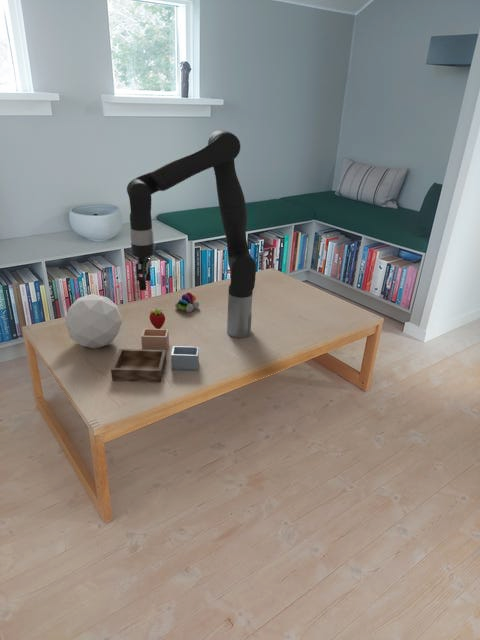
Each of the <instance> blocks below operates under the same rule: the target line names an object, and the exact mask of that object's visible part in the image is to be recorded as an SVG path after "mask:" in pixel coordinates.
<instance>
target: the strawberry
mask: <svg viewBox="0 0 480 640" xmlns="http://www.w3.org/2000/svg"><path fill="white" fill-rule="evenodd" d="M162 311H163V309H162V310H161V309H160V310H158V308H155V310H154V311H152V310H151V311H150V312H149V313H148V314H149V322H150V323H151V324H152V326H153V327H154V329H162V327H163V326H164V324H165V322H166V317H165V316H166V315H165V314H164V312H162Z"/></svg>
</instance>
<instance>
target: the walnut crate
mask: <svg viewBox="0 0 480 640" xmlns="http://www.w3.org/2000/svg"><path fill="white" fill-rule="evenodd" d="M166 364H167V351H166V350H144V349H142V348H140V349H139V348H138V349H137V348H119V349H118V352H117V355H116V357H115V360H114V362H113V364H112V367H111V369H110V372H111V381H112V382H135V383H137V382H139V383H162V382H161V381H163V377H164V373H165V367H166Z"/></svg>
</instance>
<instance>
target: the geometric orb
mask: <svg viewBox="0 0 480 640" xmlns="http://www.w3.org/2000/svg"><path fill="white" fill-rule="evenodd" d="M64 323H65V326H66V329H67V333H68V336H69V338H70V339H72V341H74V342H76V344H78V345H79V346H81V347H86V348H91V349H99V348H102V347H106V346H108V345H111V343H113V341H114V340H115V339H116V337H117V336H118V335H119V332H120V329H121V327H122V323H123V318H122V316H121V313H120V310H119V307H118V306H117V304H116V303H114V302H113V301H112V300H111V299H110V298H109V297H106V296H104V295H103V296H102V295H99V294H94V293H90V294H88V295H85V296H82V297H78V298H77V299H76V300H75V301H73V303H72V304H71V306H69V307H68V309H67V313H66V316H65V321H64Z"/></svg>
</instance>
